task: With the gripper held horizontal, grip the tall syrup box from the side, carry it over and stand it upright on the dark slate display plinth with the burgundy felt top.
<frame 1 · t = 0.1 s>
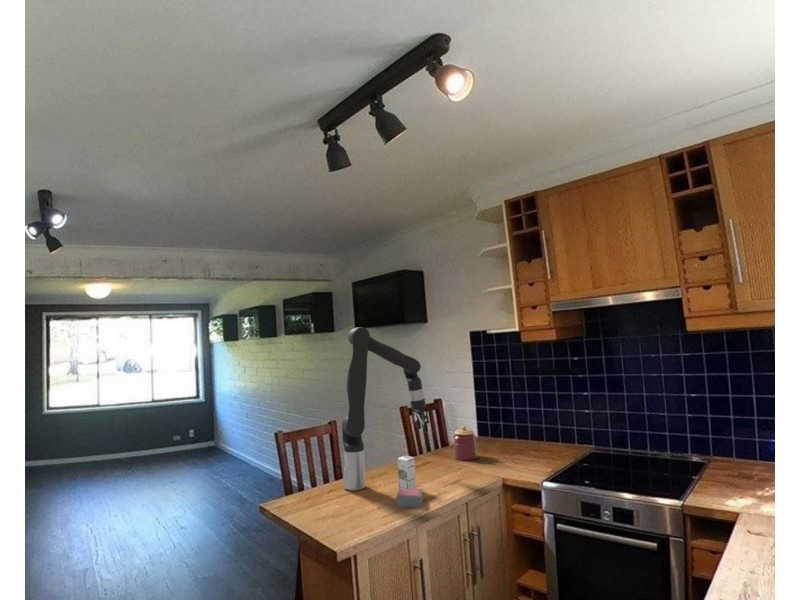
hand: (422, 430, 229), 22 cm above the countertop, fingers open, 8 cm apart
syrup box: (407, 490, 208), on the countertop
display plinth: (410, 502, 191), on the countertop
canister: (465, 458, 257), on the countertop
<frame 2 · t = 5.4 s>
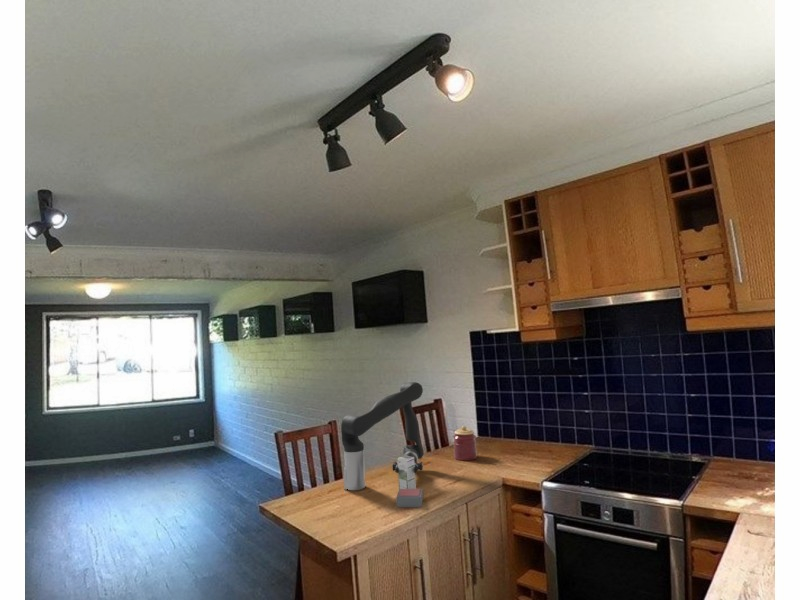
hand: (406, 470, 206), 9 cm above the countertop, fingers closed on syrup box, 7 cm apart
syrup box: (407, 490, 208), on the countertop, touching gripper
everything else where it was.
when the fingers open (15 cm above the countertop, at t = 11.4 s): syrup box drops 1 cm, resting on display plinth.
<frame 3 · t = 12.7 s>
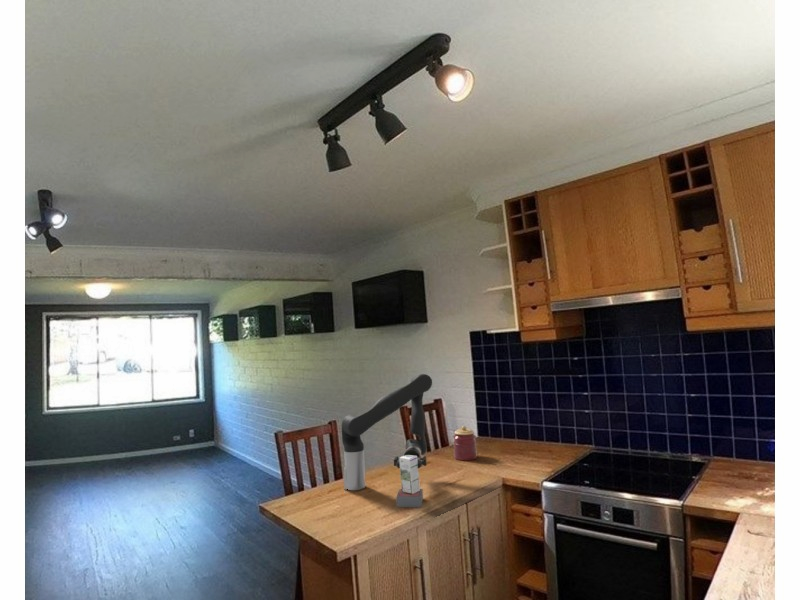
hand: (408, 465, 193), 15 cm above the countertop, fingers open, 8 cm apart
syrup box: (411, 492, 192), point 4 cm above the countertop, touching display plinth
everything else where it was.
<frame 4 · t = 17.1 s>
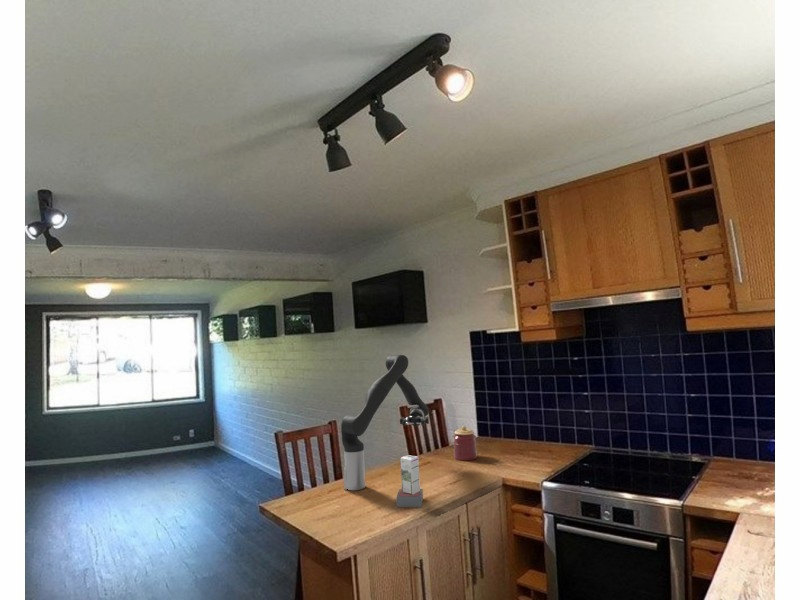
hand: (413, 423, 218), 28 cm above the countertop, fingers open, 8 cm apart
nothing on the countertop moved.
at the end: syrup box 0.7 cm off-centre on the display plinth, point 4.1 cm above the display plinth's base; syrup box tilted 0°; the gripper is holding nothing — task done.
